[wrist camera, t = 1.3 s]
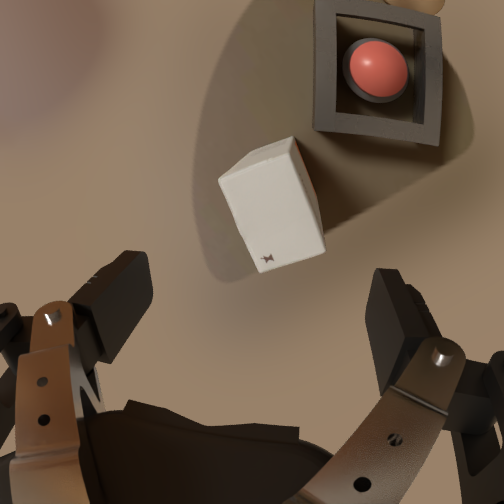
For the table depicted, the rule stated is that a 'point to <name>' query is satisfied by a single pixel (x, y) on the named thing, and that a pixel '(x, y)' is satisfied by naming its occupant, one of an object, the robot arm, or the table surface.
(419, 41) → the grey square frame
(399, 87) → the button
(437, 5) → the coaster
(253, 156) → the skincare box
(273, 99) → the table surface
